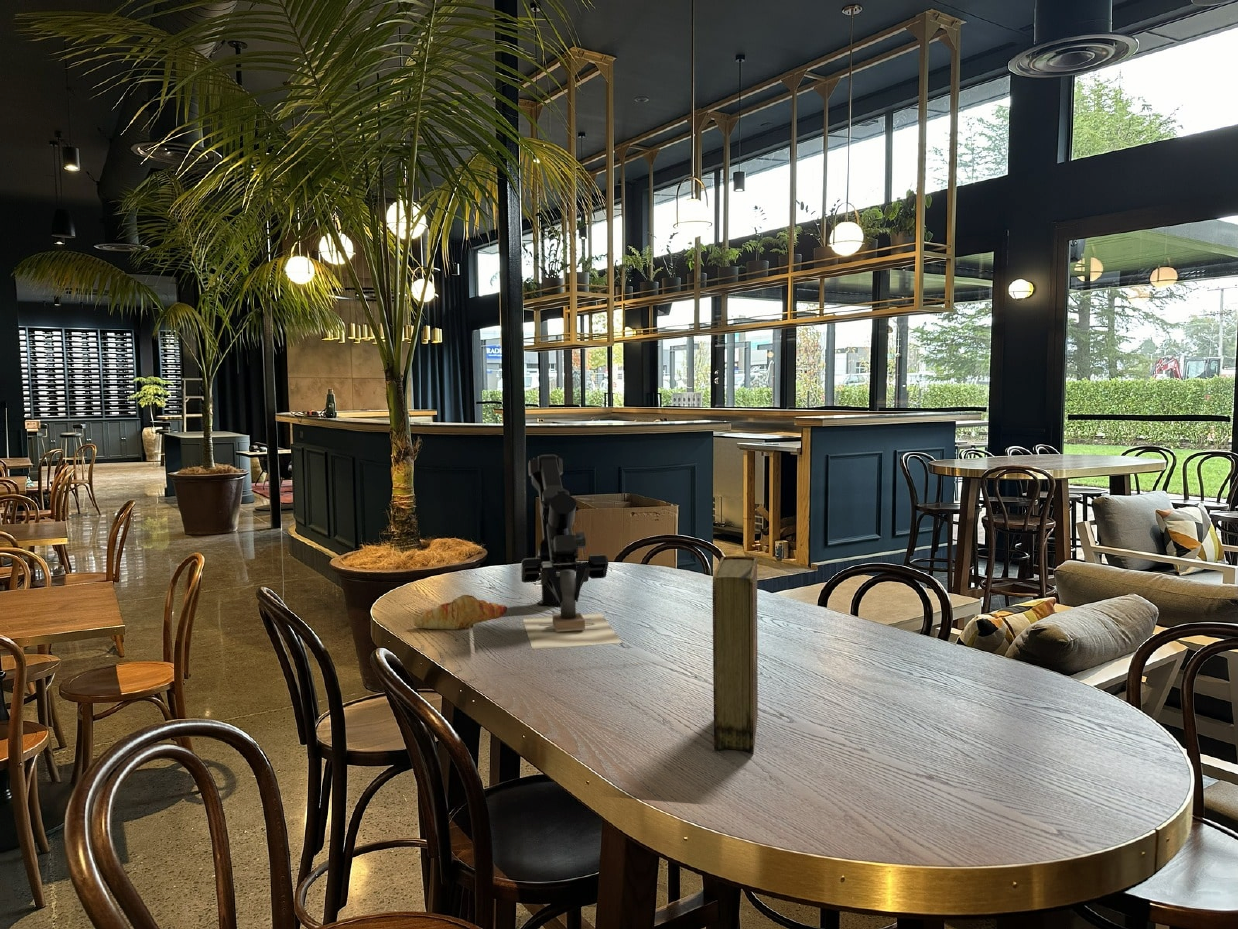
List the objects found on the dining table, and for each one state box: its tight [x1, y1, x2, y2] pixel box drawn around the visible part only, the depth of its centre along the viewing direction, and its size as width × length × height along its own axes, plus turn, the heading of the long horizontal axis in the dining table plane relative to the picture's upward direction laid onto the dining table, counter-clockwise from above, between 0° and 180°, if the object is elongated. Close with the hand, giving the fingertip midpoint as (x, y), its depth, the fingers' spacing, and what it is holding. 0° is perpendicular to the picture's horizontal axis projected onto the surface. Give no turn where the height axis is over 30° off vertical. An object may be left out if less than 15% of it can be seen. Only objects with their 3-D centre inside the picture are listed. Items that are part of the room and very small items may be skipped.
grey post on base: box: [551, 570, 585, 632], centre depth 179 cm, size 7×6×12 cm
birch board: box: [522, 613, 623, 650], centre depth 179 cm, size 24×18×1 cm
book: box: [712, 555, 759, 754], centre depth 124 cm, size 16×6×25 cm, turn 168°
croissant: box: [412, 594, 508, 630], centre depth 189 cm, size 21×10×8 cm, turn 115°
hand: (568, 601), depth 178 cm, fingers closed on grey post on base, 3 cm apart
